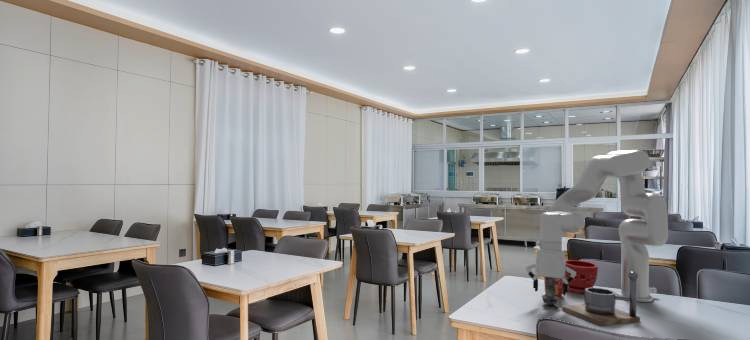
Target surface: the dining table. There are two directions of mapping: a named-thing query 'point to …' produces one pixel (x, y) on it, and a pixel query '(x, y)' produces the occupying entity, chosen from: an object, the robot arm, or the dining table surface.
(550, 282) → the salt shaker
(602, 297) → the cup bracket
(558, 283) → the smoothie
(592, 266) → the plant pot
